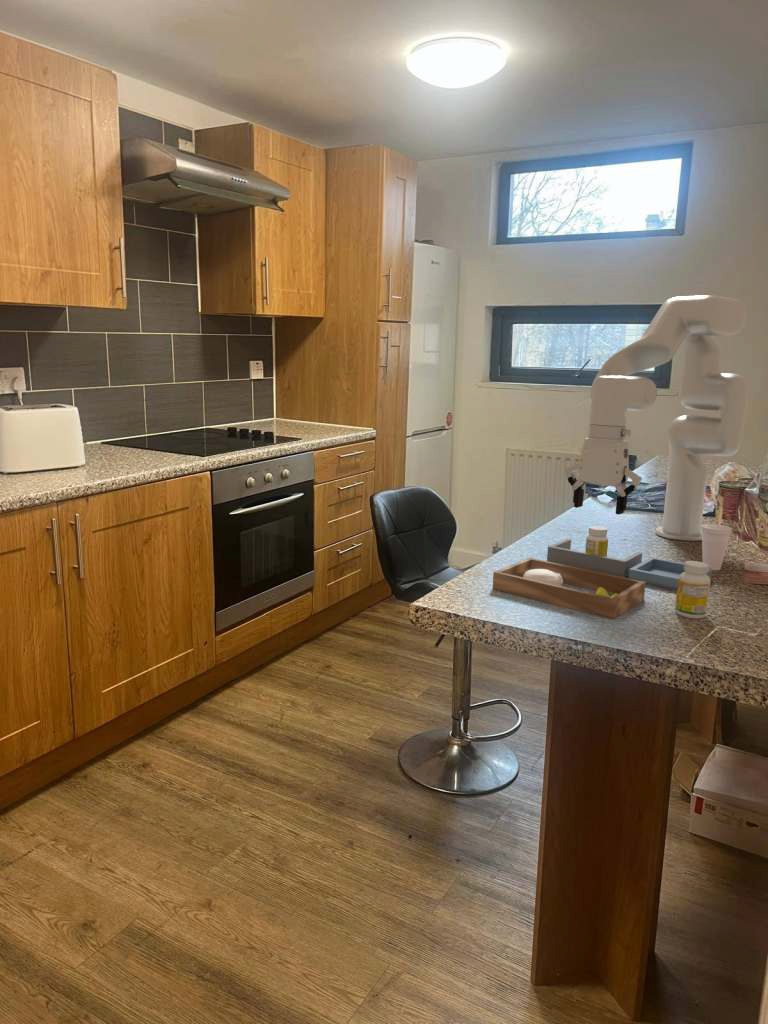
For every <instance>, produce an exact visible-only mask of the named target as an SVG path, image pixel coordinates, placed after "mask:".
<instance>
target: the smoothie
mask: <svg viewBox="0 0 768 1024" xmlns="http://www.w3.org/2000/svg"><path fill="white" fill-rule="evenodd" d="M723 511H724V508H723V507H719V515H718V523H703V524H702V525H701V531H702V540H701V550H702V551H701V553H702V555H701V557H702V559H701V560H702V561H701V562H702V563H706V564H707V565H708V568H711V569H712V571H720V570H721V568H722V565H723V561H724V558H725V553H726V549H727V546H728V542H729V538H730V535H731V534H732V531H733V528H732V527H730V526H728V525H725V524H724V525H723V524H722V518H723Z"/></svg>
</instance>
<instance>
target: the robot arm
mask: <svg viewBox="0 0 768 1024" xmlns="http://www.w3.org/2000/svg"><path fill="white" fill-rule="evenodd" d="M746 320H747V310H746V306H745V304H744V303H743V302H742V300H740V299H738V298H733V297H727V296H726V297H725V296H720V295H719V296H718V295H687V296H686V295H682V296H675V297H672V298H671V297H670V298H669V299H666V300H665V301H664V302H663V303H662V305H661V306H660V308H659V309H658V310H657V312H656V314H655V315H654V316H653V318H652V320H651V321H650V323H649V325H648V326H647V328H646V329H645V331H644V332H643V334H642V336H641V337H640V338H639V339H638V340H637V339H636V341H633V342H632V343H630V344H628V345H627V346H625V347H623V348H622V349H620V350H619V351H617V352H616V353H614V354H613V355H611V356H610V357H608V359H606V361H605V362H604V364H603V365H602V366H601V367H600V370H598V372H597V374H596V376H595V377H594V380H593V382H592V384H591V387H590V399H591V404H590V412H589V413H590V415H589V424H588V435H587V437H586V438H585V439H584V442H583V444H582V448H581V452H580V456H579V462H578V463H576V464H573V465H571V466H568V467H566V468H565V469H564V473H565V475H566V478H567V482H568V483H569V485H570V486H571V488H572V490H573V496H572V497H573V499H572V503H573V507H574V508H575V509H577V508H578V509H579V508H580V507H581V508H582V507H583V505H584V497H585V496H584V494H585V490H584V488H583V487H584V486H585V485H586V484H590V485H597V486H598V485H599V486H606V487H614V488H615V490H616V491H617V492H618V494H619V495H618V496H617V497H616V505H615V514H616V515H621V514H624V512H625V511H626V509H627V501H628V497H629V495H631V494H632V493H633V492H634V491H635V490H637V489H638V486H639V485H640V483H641V482H642V481H643V478H642V477H641V476H640V475H638V474H637V473H636V472H634V471H633V470H631V469H630V468H629V467H630V466H629V462H630V460H629V443H628V441H627V440H625V439H626V437H630V436H631V435H632V431H631V429H627V427H626V422H627V413H628V412H627V411H633V412H634V411H635V412H641V411H644V410H647V409H649V408H651V407H652V406H653V404H654V403H655V402H656V400H657V397H658V389H657V385H656V383H655V382H654V381H653V380H652V379H650V378H648V377H645V376H638V375H633V374H636V373H639V372H642V371H646V370H649V369H653V368H656V367H659V366H662V365H665V364H666V363H668V362H670V361H671V360H672V359H673V358H674V356H676V353H677V351H678V350H679V348H680V347H681V345H682V347H683V350H684V352H683V353H684V358H683V359H684V361H683V368H682V375H681V383H680V392H679V402H680V405H681V406H682V407H684V408H685V409H688V410H693V411H701V412H702V411H704V412H718V413H720V417H719V416H718V417H717V416H716V417H715V416H706V415H693V414H690V415H689V414H685V415H680V416H678V417H675V418H674V419H673V420H672V421H671V422H670V424H669V426H668V431H667V432H668V433H667V438H668V439H667V440H668V453H669V454H668V455H669V456H668V470H667V478H666V479H667V480H666V490H665V497H664V498H665V499H664V508H663V515H662V516H663V518H662V526H658V527H656V528H655V534H656V535H658V536H660V537H662V538H666V539H671V540H676V541H685V542H696V541H697V542H698V541H702V530H701V525H703V524H702V523H703V514H704V506H705V498H706V491H707V489H706V488H707V481H708V467H707V464H706V462H705V460H704V458H703V456H702V455H707V456H715V457H732V456H734V455H735V454H736V453H737V452H738V451H739V450H740V448H741V444H742V441H743V436H744V427H745V423H746V422H745V421H746V415H747V410H748V409H747V408H748V402H749V384H748V382H747V379H746V378H745V377H744V376H742V375H741V374H737V373H729V372H728V373H727V372H720V368H721V359H722V350H721V347H720V345H719V343H718V342H717V340H716V339H715V338H714V336H734V335H737V334H738V333H740V331H741V330H742V329H743V328H744V326H745V323H746ZM576 471H577V478H576V477H575V475H574V472H576ZM628 479H630V480H631V483H630V485H628V486H627V485H626V484H628Z"/></svg>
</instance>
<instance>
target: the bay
mask: <svg viewBox="0 0 768 1024" xmlns="http://www.w3.org/2000/svg"><path fill="white" fill-rule="evenodd" d="M571 545H572V539H569V538H566V539H564V540H561V541H558V542H556V543H553V544H551V545H549V546H547V555H546V561H548V562H553V563H558V564H562V565H567V566H572V567H577V568H582V569H586V570H591V571H596V572H601V573H605V574H610V575H615V576H620V577H624V578H627V576H629V569H630V568H632V567H634V566H636V565H638V564H640V563H641V562H643V560H642V558H643V552H640V551H637V552H635V553H633V554H631V555H629V556H628V557H626V558H624V559H619V558H614V557H609V556H607V557H605V556H600V555H595V554H589V553H585V551H584V552H583V551H579V550H574V549H571V547H572V546H571Z"/></svg>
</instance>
